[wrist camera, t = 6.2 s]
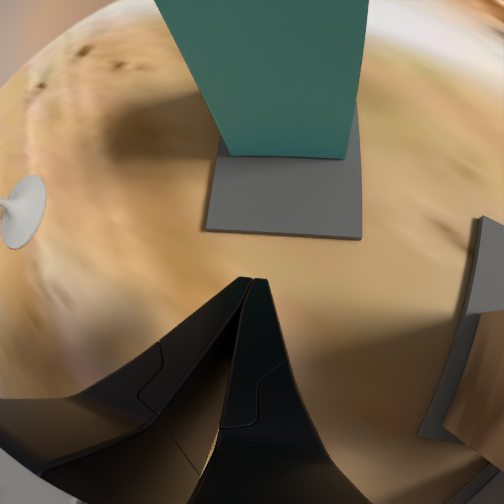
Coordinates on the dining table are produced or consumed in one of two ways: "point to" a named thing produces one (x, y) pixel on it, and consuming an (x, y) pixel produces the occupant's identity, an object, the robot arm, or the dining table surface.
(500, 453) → the walnut block
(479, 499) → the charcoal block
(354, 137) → the dark gray pads
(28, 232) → the wineglass
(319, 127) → the teal block
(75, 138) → the dining table surface
